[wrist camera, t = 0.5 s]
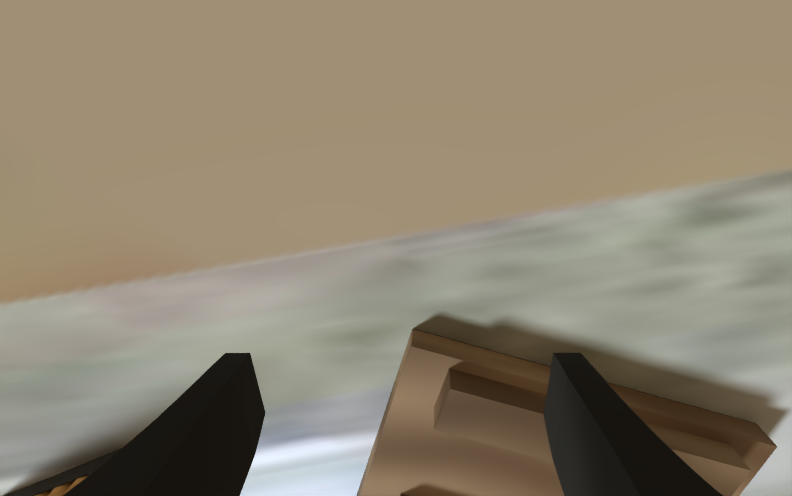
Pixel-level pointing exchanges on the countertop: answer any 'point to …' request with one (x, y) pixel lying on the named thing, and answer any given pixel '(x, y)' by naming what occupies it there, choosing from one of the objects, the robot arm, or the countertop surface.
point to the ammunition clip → (63, 479)
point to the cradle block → (520, 429)
